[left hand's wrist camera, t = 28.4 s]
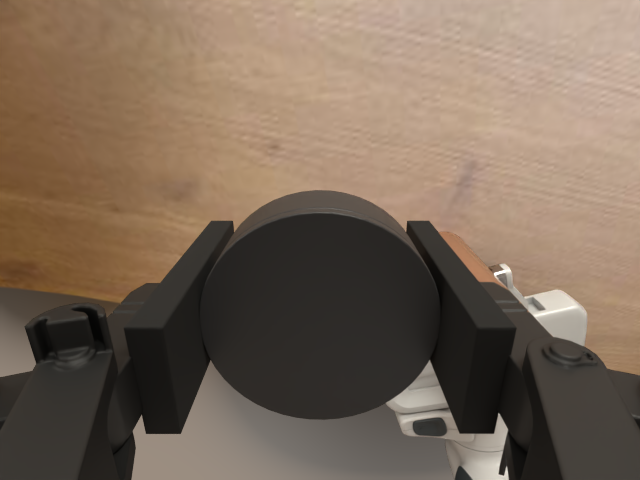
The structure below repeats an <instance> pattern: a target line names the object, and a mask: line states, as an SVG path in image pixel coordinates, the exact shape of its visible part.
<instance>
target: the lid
mask: <svg viewBox="0 0 640 480" xmlns="http://www.w3.org/2000/svg"><path fill="white" fill-rule="evenodd" d="M199 316H200V325H201V333H202V339H203V343H204V346H205V348H206V351H207V353H208V355H209V357H210V359H211V361H212V363H213V364H214V366H215V368H216V369H217V370H218V372H219V373H220V374H221V375H222V377H223V378H224V379H225V380H226V381H227V382H228V383H229V384H230V385H231V386H232V387H233V388H234V389H235V390H236V391H238V392H239V393H240V394H242V395H243V396H244V397H246V398H247V399H249V400H251V401H252V402H254V403H256V404H258V405H260V406H262V407H264V408H266V409H268V410H271V411H274V412H277V413H280V414H283V415H287V416H292V417H296V418H304V419H322V420H325V419H337V418H344V417H349V416H354V415H357V414H361V413H364V412H367V411H369V410H372V409H374V408H377V407H379V406H381V405H383V404H385V403H386V402H388V401H390V400H392V399H393V398H395V397H396V396H397V395H399V394H400V393H402V392H403V391H404V390H405V389H406V388H407V387H409V386H410V385H411V384H412V383H413V382H414V381H415V379H416V378H417V377H418V376H419V375H420V374H421V373H422V371H423V370H424V368H425V367H426V365H427V364H428V362H429V360H430V358H431V356H432V354H433V352H434V350H435V347H436V344H437V340H438V335H439V328H440V319H441V306H440V299H439V294H438V291H437V287H436V284H435V281H434V279H433V277H432V275H431V273H430V271H429V269H428V267H427V266H426V264H425V262H424V261H423V259H422V257H421V256H420V254H419V252H418V251H417V249H416V247H415V246H414V244H413V242H412V241H411V239H410V238H409V236H408V235H407V233H406V232H405V230H404V229H403V228H402V227H401V225H400V224H399V223H398V222H397V221H396V220H395V219H394V218H393V217H392V216H390V215H389V214H388V213H387V212H385V211H384V210H383V209H381V208H380V207H378V206H376V205H375V204H373V203H371V202H369V201H367V200H364V199H362V198H360V197H357V196H354V195H350V194H347V193H342V192H336V191H322V190H314V191H304V192H298V193H294V194H290V195H286V196H284V197H281V198H278V199H276V200H273V201H271V202H270V203H268V204H266V205H264V206H262V207H261V208H259V209H258V210H256V211H255V212H254V213H252V214H251V215H250V216H249V217H248V218H247V219H246V220H245V221H244V222H242V223H241V224H240V226H239V227H238V228H237V230H236V231H235V232H234V233H233V235H232V236H231V238H230V240H229V241H228V243H227V245H226V246H225V248H224V250H223V251H222V253H221V255H220V256H219V258H218V260H217V261H216V263H215V265H214V267H213V268H212V270H211V272H210V274H209V275H208V277H207V280H206V283H205V285H204V288H203V291H202V296H201V301H200V311H199Z"/></svg>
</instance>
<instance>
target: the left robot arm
mask: <svg viewBox="0 0 640 480" xmlns="http://www.w3.org/2000/svg"><path fill="white" fill-rule="evenodd" d="M233 233H234V227H233V221H211V222H210V223H209V224H208V226H207V227H206V228H205V229H204V230H203V232H202V233H201V234H200V235H199V236H198V238H197V239H196V240H195V241H194V243H193V244H192V245H191V246H190V247H189V249H188V250H187V251H186V252H185V253H184V255H183V256H182V257H181V258H180V260H179V261H178V262H177V263H176V264H175V266H174V267H173V268H172V269H171V271H170V272H169V273H168V274H167V275H166V277H165V278H164V279H163V280H162V281H161V283H146V284H144V285H143V286H141V287H139V288H137V289H136V290H134V291H132V292H131V293H130V294H129V295H128V296H127V297H126V298H125V299H124V300H123V301H122V302H121V305H119V306H118V307H117V308H116V309H115V310H114V311H113V314H110V315H109V316H108V317H107V318H106V313H105V309H104V308H103V307H101V306H100V305H99V304H93V303H74V304H69V305H65V306H60V307H57V308H54V309H52V310H49V311H46V312H44V313H42V314H40V315H39V316H37V317H35V318H33V319H32V320H31V321H30V322H29V323H28V324H27V325H26V326H25V329H26V333H27V336H28V339H29V342H30V345H31V348H32V351H33V354H34V358H35V361H36V365H35V367H34V369H33V371H30V372H25V373H20V374H15V375H10V376H5V377H0V480H131V478H132V471H133V464H134V456H135V449H136V447H135V440H134V436H133V429H134V427H135V426H136V424H137V422H138V420H139V418H140V416H141V415H142V417H143V422H144V426H145V431H146V434H181V432H182V429H183V427H184V424H185V422H186V419H187V417H188V414H189V412H190V409H191V407H192V404H193V402H194V400H195V397H196V395H197V392H198V390H199V387H200V385H201V382H202V380H203V377H204V375H205V372H206V370H207V367H208V365H209V362H210V360H211V359H210V357H209V355H208V353H207V351H206V348H205V346H204V343H203V339H202V333H201V325H200V316H199V311H200V301H201V296H202V291H203V288H204V285H205V283H206V280H207V277H208V275H209V274H210V272H211V270H212V268H213V267H214V265H215V263H216V261H217V260H218V258H219V256H220V255H221V253H222V251H223V250H224V248H225V246H226V245H227V243H228V241H229V240H230V238H231V236H232V235H233ZM406 233H407V235H408V236H409V238H410V239H411V241H412V242H413V244H414V246H415V247H416V249H417V251H418V252H419V254H420V256H421V257H422V259H423V261H424V262H425V264H426V266H427V267H428V269H429V271H430V273H431V275H432V277H433V279H434V281H435V284H436V287H437V291H438V294H439V299H440V306H441V319H440V328H439V335H438V340H437V344H436V347H435V350H434V352H433V354H432V356H431V358H430V362H431V364H432V367H433V369H434V372H435V374H436V377H437V379H438V382H439V384H440V387H441V389H442V392H443V394H444V396H445V399H446V401H447V404H448V406H449V409H450V411H451V414H452V416H453V419H454V421H455V424H456V426H457V429H458V431H459V434H494V432H495V428H496V423H497V418H498V414H500V416H501V418H502V419H503V421H504V423H505V425H506V427H507V428H508V431H507V436H506V440H505V444H504V449H503V453H502V457H501V462H500V466H499V475H503V476H504V474H505V470H506V467H507V470H508V477H509V480H640V375H635V374H630V373H625V372H619V371H614V370H610V369H607V368H606V366H605V365H604V363H603V362H602V361H601V359H600V358H599V357H598V356H597V355H596V354H595V353H593V352H592V351H590V350H589V349H587V348H586V347H584V346H582V345H579V344H577V343H575V342H572V341H569V340H565V339H561V338H557V337H552V336H551V334H550V333H549V332H548V331H547V330H546V329H545V328H544V327H543V326H542V325H541V324H540V323H539V322H538V321H537V320H536V318H535V317H534V316H533V315H532V314H531V313H530V312H527V309H526V308H525V307H524V306H523V305H522V304H521V303H519V300H518V299H517V298H516V297H515V296H514V295H513V294H512V293H511V292H510V291H509V290H507V289H505V288H504V287H502V286H500V285H498V284H497V283H495V282H479V281H478V280H477V279H476V277H475V276H474V275H473V274H472V273H471V271H470V270H469V269H468V268H467V267H466V265H465V264H464V263H463V262H462V260H461V259H460V258H459V257H458V256H457V254H456V253H455V252H454V251H453V250H452V248H451V247H450V246H449V245H448V243H447V242H446V241H445V240H444V239H443V237H442V236H441V235H440V234H439V233H438V231H437V230H436V229H435V228H434V226H433V225H432V224H431V223H430V222H429V221H407V230H406Z"/></svg>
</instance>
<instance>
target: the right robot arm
mask: <svg viewBox="0 0 640 480" xmlns="http://www.w3.org/2000/svg"><path fill="white" fill-rule="evenodd" d="M488 268H489V269H490V270H491V271H492V272H493V273H494V274H495V275H496V276H497V277H498V279H499V280H500V281H501V282H502V283H503V284H504V285H505V286H506V287H507V288H508V289H509V290H510V291H511V292H512V293H513V294H514V296H515V297H516V298H517V299H518V300H519V301H520V302H521V303H522V304H523V305H524V306H525V307H526V308H527V309H528V310H529V312H530V313H531V314H532V315H533V316H534V317H535V318H536V319H537V320H538V321H539V322H540V323H541V324H542V325H543V326H544V327H545V329H546V330H547V331H548V332H549V333H550V334H551V335H552V336H553V337H557V338H561V339H565V340H569V341H572V342H575V343H577V344H579V345H582V346H584V345H585V339H586V331H587V313H586V311H585V309H584V308H583V307H582V306H581V305H580V304H579V303H578V302H577V301H576V300H575V299H573V298H572V297H571V296H569V295H568V294H566V293H565V292H563V291H561V290H552V291H547V292H543V293H539V294H534V295H530V296H526V297H523V296H522V294H521V293H520V292H519V291H518V290H517V289H516V288H515V287H514V286H513V279H512V272H511V270H510V268H509V267H508V266H507V265H506V264H505V263H503V264H499V265H495V266H491V267H488ZM386 404H387V406H388V407H389V408H391V409H392V410H394V412H395V415H396V418H397V421H398V423H399V426H400V428H401V431H402V432H403V434H405V435H407V436H416V437H435V438H444V439H445V447H446V452H447V457H448V461H449V465H450V468H451V471H452V474H453V477H454V480H509V477H508V470H507V467H506V470H505V474H504V476H503V475H499V466H500V462H501V457H502V453H503V449H504V444H505V440H506V436H507V431H508V428H507V427H506V425H505V423H504V421H503V419H502V418H501V416H500V414H498V418H497V423H496V428H495V432H494V434H459V431H458V429H457V426H456V424H455V421H454V419H453V416H452V414H451V411H450V409H449V406H448V404H447V401H446V399H445V396H444V394H443V392H442V389H441V387H440V384H439V382H438V379H437V377H436V374H435V372H434V369H433V367H432V364H431V362H430V360H429V362H428V364H427V365H426V367H425V368H424V370H423V371H422V373H421V374H420V375H419V376H418V377H417V378H416V379H415V381H414V382H413V383H412V384H411V385H410V386H409V387H407V388H406V389H405V390H404V391H403V392H402V393H400V394H399V395H397V396H396V397H395V398H393V399H392V400H390V401H388V402H386Z"/></svg>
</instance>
